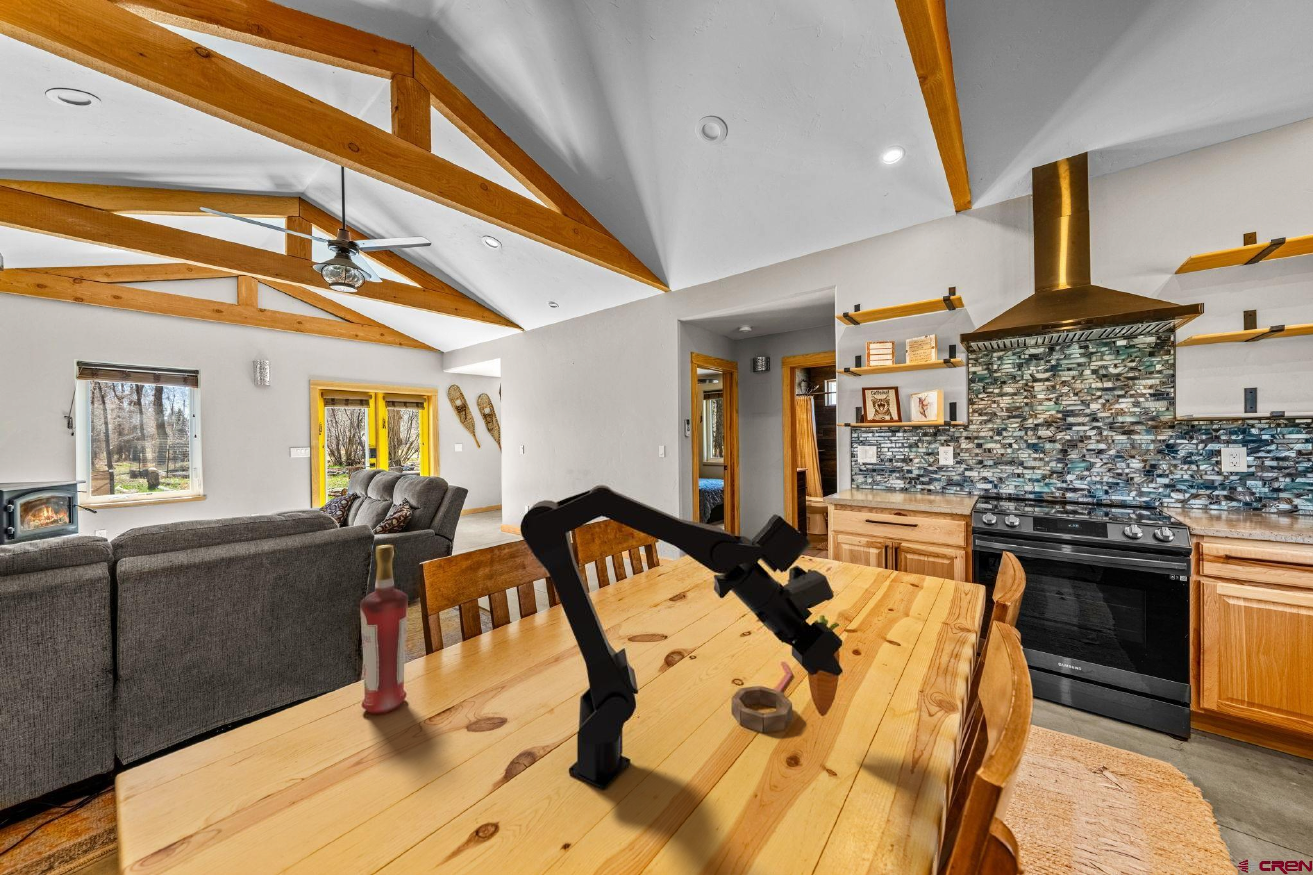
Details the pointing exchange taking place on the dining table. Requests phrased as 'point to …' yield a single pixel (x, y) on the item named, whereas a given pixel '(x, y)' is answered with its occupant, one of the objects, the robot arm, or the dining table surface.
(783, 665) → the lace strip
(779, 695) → the bead ring
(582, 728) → the robot arm
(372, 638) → the liquor
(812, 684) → the carrot
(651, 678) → the dining table surface
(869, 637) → the dining table surface
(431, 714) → the dining table surface
